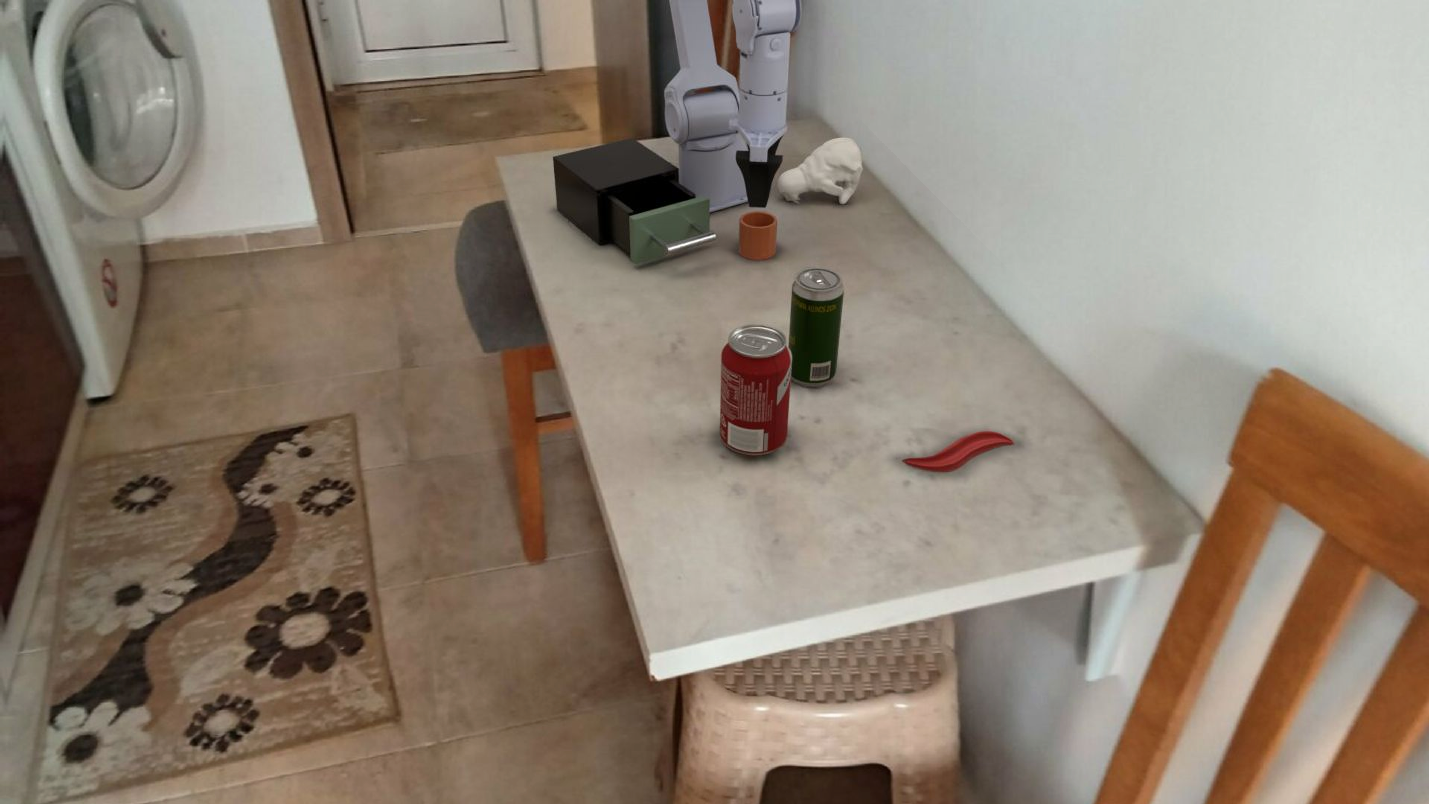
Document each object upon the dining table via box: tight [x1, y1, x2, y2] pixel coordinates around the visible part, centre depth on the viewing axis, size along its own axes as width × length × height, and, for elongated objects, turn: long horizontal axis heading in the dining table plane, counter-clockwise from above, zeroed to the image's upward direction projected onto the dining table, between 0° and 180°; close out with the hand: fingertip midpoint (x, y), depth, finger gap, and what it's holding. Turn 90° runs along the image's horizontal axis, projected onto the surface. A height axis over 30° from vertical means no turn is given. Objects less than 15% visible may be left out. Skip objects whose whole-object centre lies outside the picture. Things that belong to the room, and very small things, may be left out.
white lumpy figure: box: [777, 137, 864, 205], centre depth 151 cm, size 6×8×12 cm
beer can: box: [787, 267, 845, 388], centre depth 114 cm, size 5×5×12 cm
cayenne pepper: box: [902, 430, 1015, 473], centre depth 106 cm, size 12×5×2 cm, turn 100°
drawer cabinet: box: [552, 137, 679, 246], centre depth 146 cm, size 12×12×8 cm
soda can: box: [719, 323, 792, 456], centre depth 105 cm, size 7×7×12 cm
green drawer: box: [601, 176, 717, 266], centre depth 138 cm, size 16×11×6 cm
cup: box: [738, 210, 778, 261], centre depth 139 cm, size 5×5×5 cm
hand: (759, 193), depth 136 cm, fingers open, 7 cm apart
